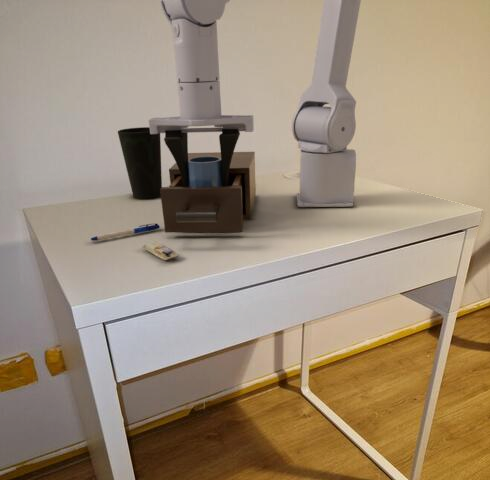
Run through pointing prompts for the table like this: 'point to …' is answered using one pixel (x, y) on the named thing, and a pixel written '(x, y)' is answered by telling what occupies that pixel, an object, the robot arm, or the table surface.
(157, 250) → the granola bar
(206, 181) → the small cup
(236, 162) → the cabinet
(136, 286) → the table surface
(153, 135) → the cup
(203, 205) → the drawer
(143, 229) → the ballpoint pen
